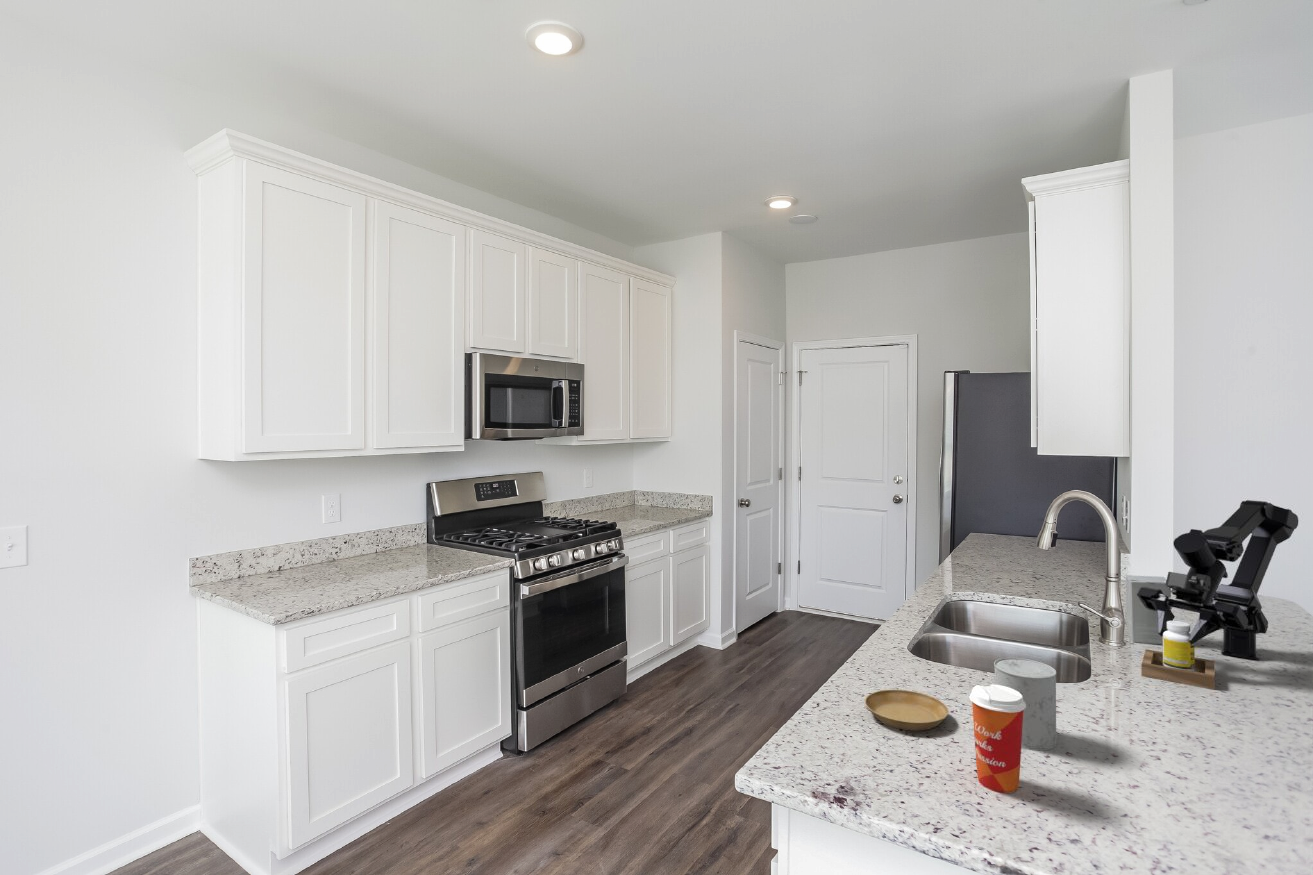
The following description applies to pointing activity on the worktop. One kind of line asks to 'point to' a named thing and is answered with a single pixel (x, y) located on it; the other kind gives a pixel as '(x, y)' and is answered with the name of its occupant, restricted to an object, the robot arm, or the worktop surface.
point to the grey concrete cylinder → (1032, 698)
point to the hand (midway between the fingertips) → (1174, 638)
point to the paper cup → (998, 736)
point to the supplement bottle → (1178, 646)
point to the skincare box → (1143, 609)
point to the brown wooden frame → (1178, 671)
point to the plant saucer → (906, 709)
